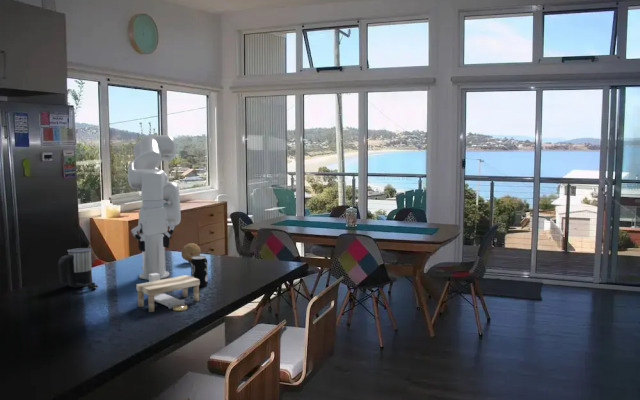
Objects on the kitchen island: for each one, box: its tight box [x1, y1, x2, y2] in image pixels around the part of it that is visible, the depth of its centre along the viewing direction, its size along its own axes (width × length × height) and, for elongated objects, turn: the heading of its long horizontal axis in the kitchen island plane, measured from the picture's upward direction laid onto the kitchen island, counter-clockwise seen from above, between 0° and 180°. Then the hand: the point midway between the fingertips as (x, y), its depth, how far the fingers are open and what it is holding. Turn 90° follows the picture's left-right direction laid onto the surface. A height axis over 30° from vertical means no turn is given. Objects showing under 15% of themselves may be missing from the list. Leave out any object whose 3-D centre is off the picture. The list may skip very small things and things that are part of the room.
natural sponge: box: [181, 242, 202, 264], centre depth 261 cm, size 9×9×10 cm
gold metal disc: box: [172, 304, 188, 312], centre depth 192 cm, size 5×5×1 cm
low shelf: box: [135, 274, 200, 313], centre depth 197 cm, size 10×20×8 cm, turn 135°
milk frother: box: [57, 247, 99, 290], centre depth 219 cm, size 14×16×15 cm
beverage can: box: [190, 255, 209, 289], centre depth 221 cm, size 7×7×12 cm
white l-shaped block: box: [148, 273, 186, 310], centre depth 200 cm, size 18×6×9 cm, turn 44°
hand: (154, 249), depth 204 cm, fingers open, 9 cm apart
